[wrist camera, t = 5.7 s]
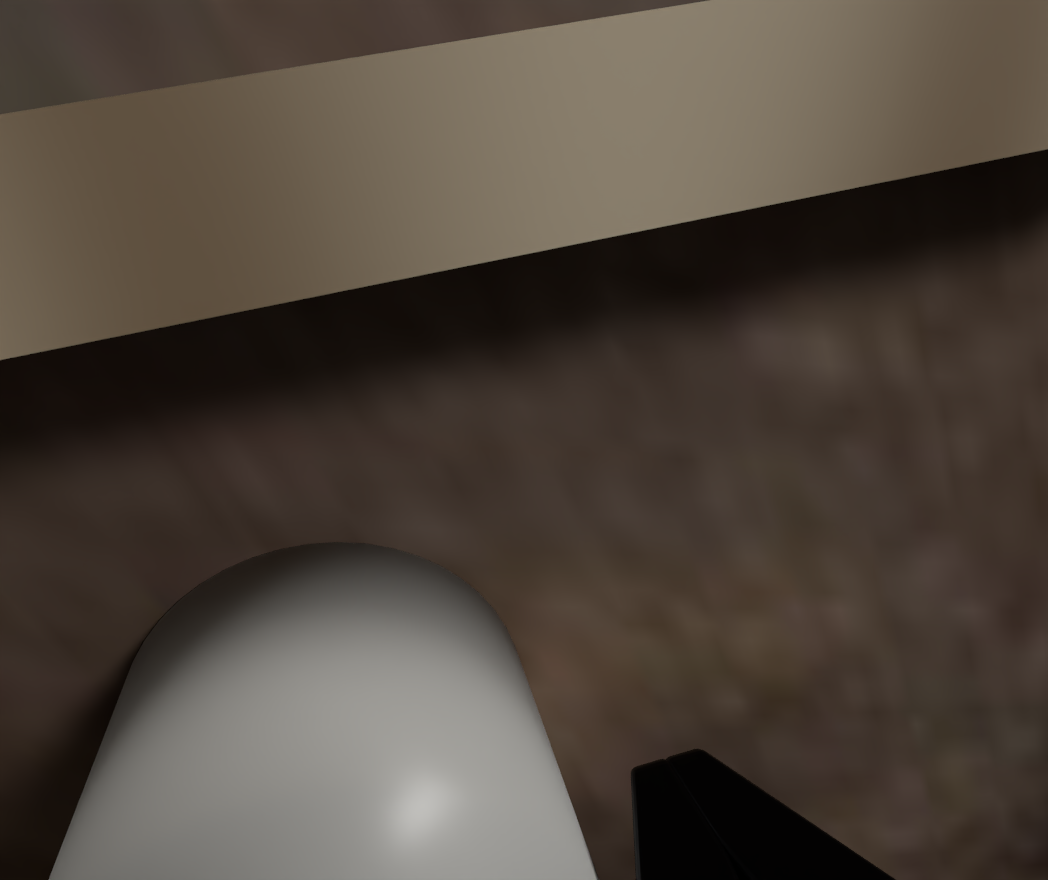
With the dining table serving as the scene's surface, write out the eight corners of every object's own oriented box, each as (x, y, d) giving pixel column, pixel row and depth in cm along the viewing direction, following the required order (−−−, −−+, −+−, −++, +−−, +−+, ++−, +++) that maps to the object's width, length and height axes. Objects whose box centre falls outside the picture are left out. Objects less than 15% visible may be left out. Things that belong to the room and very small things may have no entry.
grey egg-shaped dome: (488, 499, 10) (580, 710, 6) (548, 808, 12) (645, 1111, 8) (56, 603, 9) (-130, 910, 6) (192, 914, 11) (122, 1300, 7)
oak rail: (1204, -66, 9) (1530, -142, 7) (1183, 92, 10) (1475, 76, 8) (-1207, 329, 6) (-2265, 459, 4) (-1016, 522, 7) (-1817, 748, 4)
